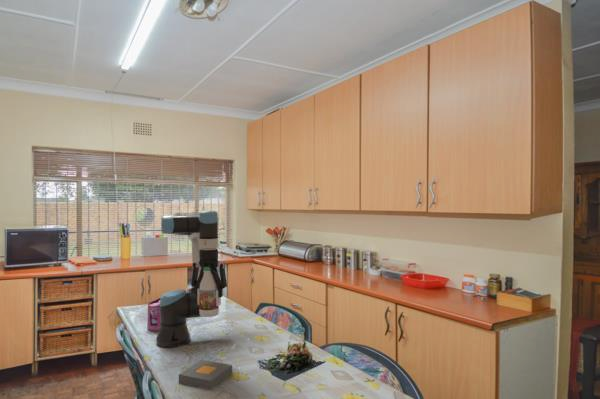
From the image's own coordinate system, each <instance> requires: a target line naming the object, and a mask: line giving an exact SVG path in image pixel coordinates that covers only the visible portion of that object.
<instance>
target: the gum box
mask: <svg viewBox="0 0 600 399" xmlns="http://www.w3.org/2000/svg"><path fill="white" fill-rule="evenodd" d="M160 298H161V297H159V298H157V299H154V300H152V301H150V302H148V303H147V327H146V328H147V330H148V331H150V330H151V331H159V329H160Z"/></svg>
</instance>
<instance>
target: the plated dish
mask: <svg viewBox="0 0 600 399" xmlns="http://www.w3.org/2000/svg"><path fill="white" fill-rule="evenodd" d="M287 344H288V346H287V349H286V354H285V353H282V354H280V353H279V354H275V357H274V356H273V357H271V358H270V357H269V358H268V359H265V358H263V359H260V360H259V359H257V360H256V361H257V365H256V366H257V367H258V368H259V369H260V370H265V371H268V372H269V373H270V374H271V376H273V377H275V378H277V379H279V380H281V381H283V382H287V381H288V380H291V379H293V378H295V377H297V376H299V375H302V374H304V373H307V372H308V371H310V370H312V369H314V368H318V366H321V365H323V364H326V360H322V361H321V360H317V358H315V359H312V357H313V356H312V354H311V352H310V351H309V348H308V347H309V346H307V341H306V336H304V338H303V343H302V342H300V341H298V343H295V342H294V343H292V344H290V341H288V343H287ZM281 359H282V361H281Z"/></svg>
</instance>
